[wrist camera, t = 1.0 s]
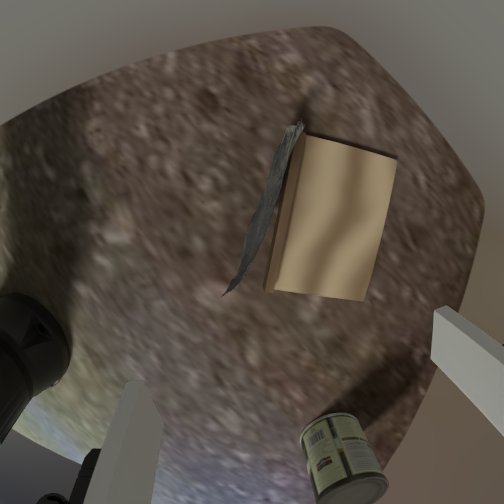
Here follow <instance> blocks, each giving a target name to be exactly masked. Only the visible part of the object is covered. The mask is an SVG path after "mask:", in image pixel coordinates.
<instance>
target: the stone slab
mask: <svg viewBox="0 0 504 504" xmlns="http://www.w3.org/2000/svg"><path fill="white" fill-rule="evenodd" d="M304 127H305V124H304V123H303V122H302V120H301V119H300V120H299V121H298V122H297V126H293V125H291V126H287V128H286V130H285V133H284V138H283V140H282V142H281V145H280V146H279V147H278V148H277V150H276V151H275V154H274V159H273V163H272V167H271V171H270V174H269V177H268V181H267V184H266V188H265V191H264V193H263V195H262V197H261V198H260V201H259V204H258V207H257V210H256V213H255V215H254V216H253V219H252V221H251V223H250V224H249V226H248V230H247V233H246V235H245V242H244V247H243V252H242V259H241V265H240V268H239V271H238V274H237V276H236V277H235V278H233V279H232V280H231V282H230V285H229V287H228V289H227V291H226V292H225V293H224V294H223V295H222V296H224V295H225V294H226V293H228V292H230V291H231V290H232V289H235V288H237V287H238V286H239V283H240V281H241V280H242V279H243V277H244V276H245V275H246V272H247V271H248V269H249V268H250V266H251V264H252V262H253V261H254V259H255V256H256V254H257V252H258V249H259V247H260V245H261V242H262V240H263V238H264V236H265V233H266V231H267V228H268V224H269V221H270V217H271V215H272V212H273V209H274V206H275V204H276V201H277V198H278V195H279V192H280V190H281V187H282V181H283V176H284V173H285V170H286V167H287V163H288V159H289V157H290V154H291V151H292V149H293V146H294V144H295V143H296V141H297V139H298V137H299V135H300V133H301V132H302V130H303V129H304ZM222 296H221V297H222Z"/></svg>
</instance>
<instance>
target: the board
mask: <svg viewBox="0 0 504 504" xmlns="http://www.w3.org/2000/svg"><path fill="white" fill-rule="evenodd" d="M396 166H397V160H395V159H392V158H389V157H385V156H382V155H379V154H376V153H372V152H369V151H366V150H362V149H359V148H355V147H352V146H348V145H344V144H341V143H337V142H333V141H329V140H325V139H321V138H317V137H313V136H309V135H306V133H304V132H301V133H300V135H299V137H298V139H297V141H296V143H295V144H294V146H293V149H292V151H291V154H290V157H289V159H288V163H287V168H286V173H285V178H284V184H283V189H282V194H281V199H280V204H279V209H278V214H277V219H276V224H275V229H274V234H273V239H272V244H271V249H270V254H269V259H268V264H267V268H266V273H265V278H264V283H263V288H264V292H267V293H273V292H274V289H276V290H282V291H289V292H296V293H303V294H311V295H318V296H325V297H333V298H340V299H348V300H356V301H364V298H365V295H366V292H367V288H368V285H369V281H370V278H371V274H372V271H373V267H374V263H375V260H376V256H377V252H378V248H379V244H380V240H381V236H382V232H383V228H384V224H385V219H386V215H387V210H388V206H389V201H390V196H391V192H392V187H393V182H394V176H395V171H396Z"/></svg>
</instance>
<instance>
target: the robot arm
mask: <svg viewBox="0 0 504 504" xmlns="http://www.w3.org/2000/svg"><path fill="white" fill-rule="evenodd" d="M431 360H432V361H433V362H434V363H435V364H436V365H437V366H438V367H439V368H440V369H441V370H442V371H443V372H444V373H445V374H446V375H447V376H448V377H449V378H450V379H451V380H452V381H453V382H454V383H455V384H456V385H457V386H458V387H459V389H460V390H461V391H462V392H463V393H464V394H465V395H466V396H467V397H468V398H469V399H470V400H471V401H472V402H473V403H474V404H475V406H476V407H478V409H479V410H480V411H481V412H482V413H483V414H484V415H485V416H486V417H487V418H488V420H489V421H490V422H491V423H492V424H493V425H494V426H495V427H496V428H497V430H498V431H499V432H500V433H501V434H502V435H503V436H504V344H503V345H501V344H499V343H498V342H497V341H495V340H494V339H492V338H491V337H490V336H488V335H487V334H486V333H484V332H483V331H482V330H480V329H479V328H478V327H476V326H475V325H474V324H472V323H471V322H469V321H468V320H467V319H465V318H464V317H462V316H461V315H460V314H458V313H457V312H455V311H454V310H452V309H451V308H450V307H448V306H444V307H441V308H439V309H436V310H434V322H433V337H432V349H431ZM68 365H69V350H68V346H67V342H66V339H65V337H64V334H63V332H62V330H61V329H60V327H59V325H58V324H57V322H56V321H55V319H54V318H53V317H52V315H51V314H50V313H49V312H48V311H47V310H46V309H45V308H44V307H43V306H42V305H40V304H39V303H38V302H36V301H35V300H33V299H32V298H30V297H27V296H25V295H22V294H17V293H11V294H7V295H4V296H3V297H1V298H0V446H1V444H2V442H3V441H4V439H5V437H6V436H7V435H8V433H9V431H10V430H11V428H12V427H13V425H14V424H15V422H16V421H17V419H18V418H19V416H20V415H21V413H22V412H23V410H24V409H25V407H26V406H27V404H28V403H29V401H30V400H31V399H32V398H33V397H34V396H36V395H38V394H39V393H41V392H42V391H44V390H46V389H49V388H51V387H53V386H55V385H56V384H57V383H58V382H59V381H60V380H61V378H62V377H63V375H64V374H65V372H66V371H67V368H68ZM163 429H164V423H163V421H162V419H161V417H160V415H159V413H158V411H157V409H156V407H155V405H154V403H153V401H152V399H151V397H150V395H149V393H148V391H147V388H146V386H145V384H144V382H143V380H139V381H131V382H127V383H126V386H125V388H124V391H123V393H122V396H121V398H120V401H119V403H118V406H117V409H116V411H115V414H114V416H113V419H112V422H111V424H110V427H109V430H108V433H107V435H106V438H105V441H104V444H103V446H102V449H92V450H91V451H90V452H89V453H88V454H87V456H86V457H85V458H84V461H83V463H82V466H81V470H80V471H79V474H78V478H77V480H76V482H75V485H74V488H73V491H72V493H71V496H70V499H69V501H68V500H66V498H65V497H64V496H62V495H60V494H57V493H50V494H47V495H44V496H43V497H42V498H40V499H39V501H38V502H37V503H36V504H151V499H152V492H153V486H154V480H155V474H156V468H157V462H158V456H159V451H160V445H161V440H162V434H163Z"/></svg>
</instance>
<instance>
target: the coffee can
mask: <svg viewBox="0 0 504 504" xmlns="http://www.w3.org/2000/svg"><path fill="white" fill-rule="evenodd" d="M300 444H301V446H302V450H303V454H304V457H305V461H306V465H307V469H308V472H309V476H310V480H311V484H312V488H313V492H314V496H315V499H316V504H373V503H375V502H376V501H377V500H379V499H380V498H381V497H382V496H383V495H384V494H385V493H386V491H387V489H388V487H389V482H388V480H387V479H386V477H385V476H384V474H383V472H382V470H381V468H380V465H379V463H378V461H377V459H376V457H375V455H374V453H373V451H372V449H371V447H370V445H369V443H368V440H367V438H366V436H365V434H364V432H363V430H362V428H361V426H360V424H359V421H358V419H357V418H356V417H355V416H353V415H351V414H349V413H342V412H340V413H331V414H327V415H324V416H322V417H319V418H317V419H316V420H314V421H312V422H311V423H310V424H309V425H307V426H306V428H305V429H304V430H303V432H302V433H301V436H300Z"/></svg>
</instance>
